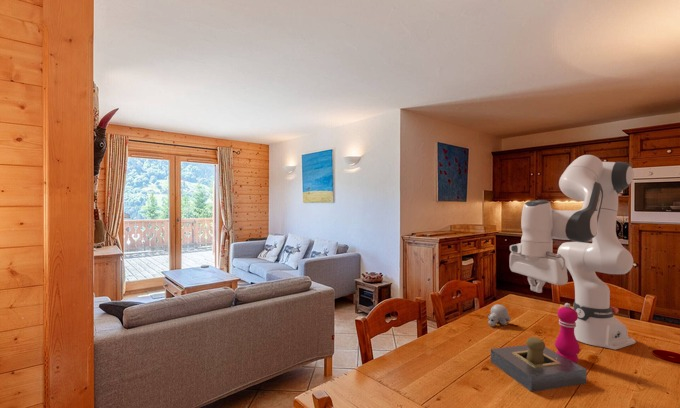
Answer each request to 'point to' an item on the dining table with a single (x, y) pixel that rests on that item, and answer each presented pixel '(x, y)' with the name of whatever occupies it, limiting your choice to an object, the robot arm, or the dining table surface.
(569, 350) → the pepper mill
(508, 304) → the dining table surface
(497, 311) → the round bodied animal figurine
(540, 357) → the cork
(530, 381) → the block
